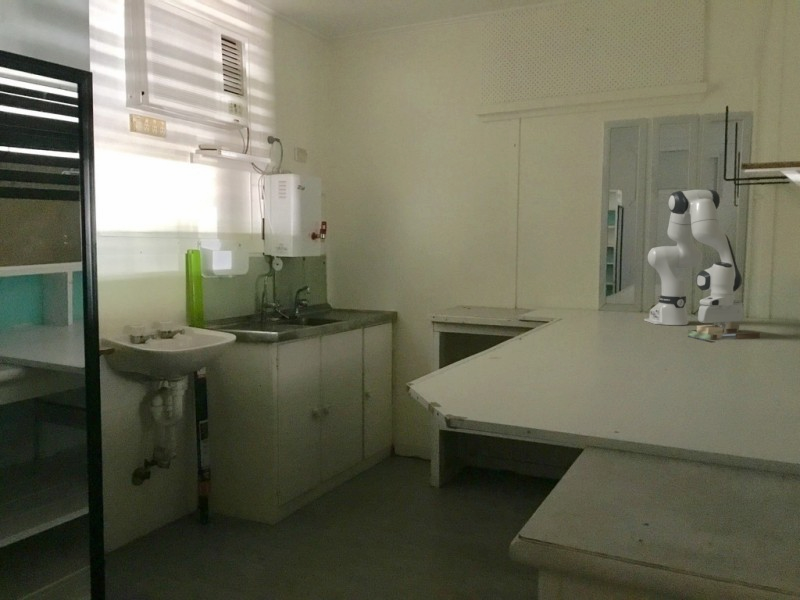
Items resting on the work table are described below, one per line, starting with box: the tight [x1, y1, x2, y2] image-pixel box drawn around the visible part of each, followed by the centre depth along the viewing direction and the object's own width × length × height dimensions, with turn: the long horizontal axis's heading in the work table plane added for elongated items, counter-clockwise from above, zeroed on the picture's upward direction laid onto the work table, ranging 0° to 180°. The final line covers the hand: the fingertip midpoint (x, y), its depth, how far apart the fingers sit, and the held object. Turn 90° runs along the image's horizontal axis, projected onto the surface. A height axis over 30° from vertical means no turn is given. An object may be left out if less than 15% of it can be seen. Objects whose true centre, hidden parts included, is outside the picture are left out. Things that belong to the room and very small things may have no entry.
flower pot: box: [725, 322, 741, 333], centre depth 280 cm, size 9×9×9 cm
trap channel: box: [687, 328, 761, 343], centre depth 267 cm, size 14×24×3 cm, turn 103°
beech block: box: [696, 324, 723, 338], centre depth 265 cm, size 7×7×4 cm
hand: (720, 332), depth 266 cm, fingers closed
